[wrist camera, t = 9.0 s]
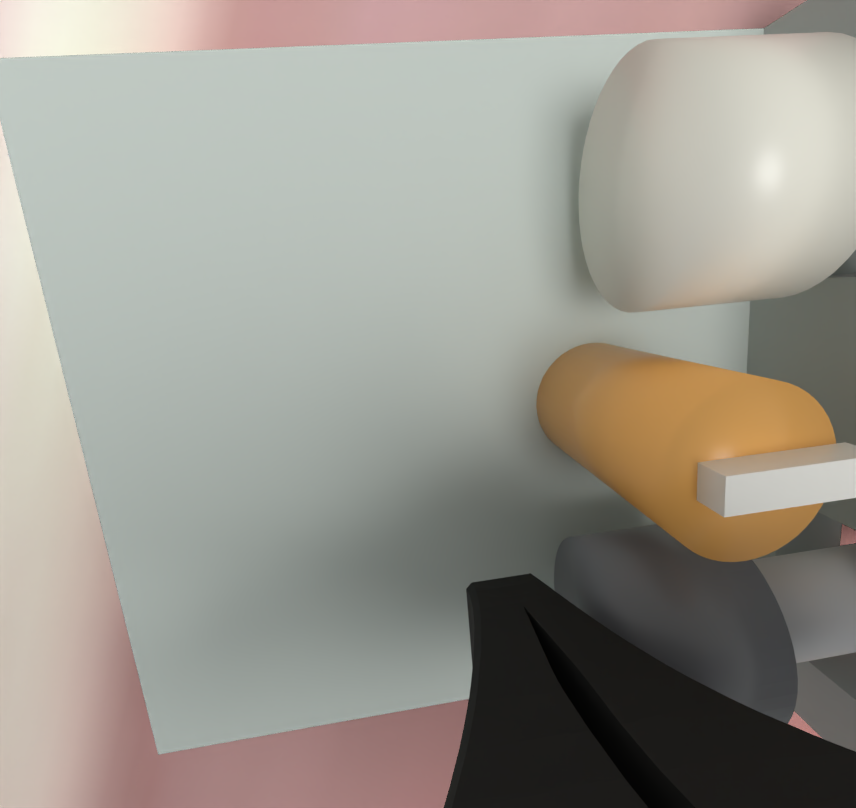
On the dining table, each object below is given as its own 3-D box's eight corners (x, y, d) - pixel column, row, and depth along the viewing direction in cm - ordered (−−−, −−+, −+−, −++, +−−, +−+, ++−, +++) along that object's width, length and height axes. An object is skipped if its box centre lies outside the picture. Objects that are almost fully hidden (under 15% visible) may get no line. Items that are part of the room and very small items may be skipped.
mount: (168, 731, 12) (12, 1093, 6) (9, 74, 9) (-528, -260, 3) (769, 626, 13) (1040, 846, 8) (809, 40, 10) (1282, -223, 5)
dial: (538, 462, 11) (681, 598, 6) (533, 349, 10) (686, 399, 6) (649, 446, 11) (871, 566, 6) (650, 336, 11) (893, 374, 6)
